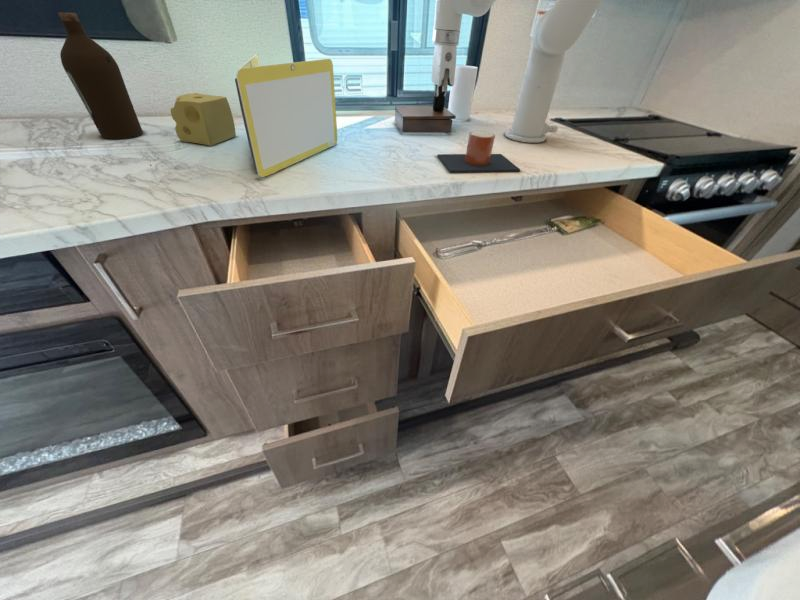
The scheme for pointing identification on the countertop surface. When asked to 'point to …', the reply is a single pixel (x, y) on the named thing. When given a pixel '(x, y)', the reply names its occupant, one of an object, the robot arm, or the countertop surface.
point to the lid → (423, 112)
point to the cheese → (203, 119)
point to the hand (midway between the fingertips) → (438, 110)
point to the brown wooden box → (423, 125)
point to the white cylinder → (462, 91)
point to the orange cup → (479, 148)
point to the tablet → (287, 111)
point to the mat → (458, 165)
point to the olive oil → (98, 82)
